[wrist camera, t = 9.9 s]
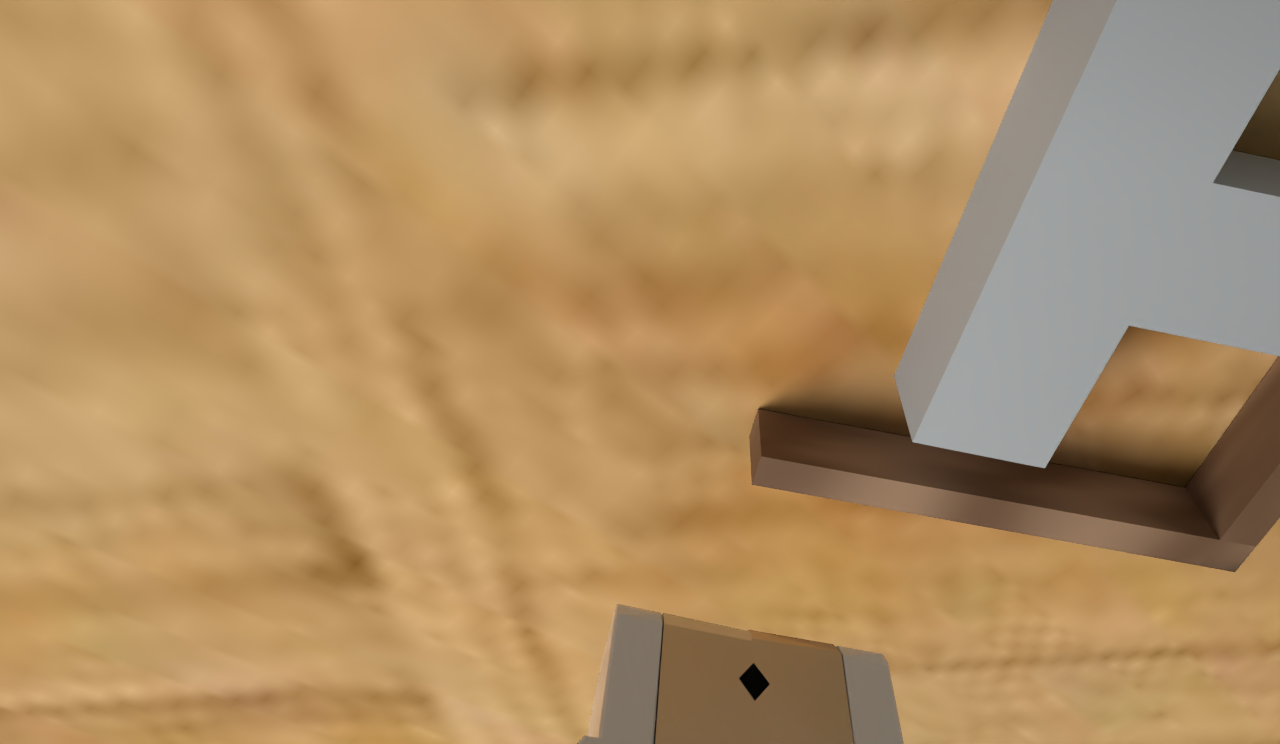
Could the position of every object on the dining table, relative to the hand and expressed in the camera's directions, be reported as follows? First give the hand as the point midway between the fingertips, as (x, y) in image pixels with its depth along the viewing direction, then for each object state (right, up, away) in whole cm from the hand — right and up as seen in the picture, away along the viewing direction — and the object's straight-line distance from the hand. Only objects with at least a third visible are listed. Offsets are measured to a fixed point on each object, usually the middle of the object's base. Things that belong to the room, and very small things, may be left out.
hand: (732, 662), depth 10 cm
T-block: (+14, +8, +15) cm, 22 cm away
